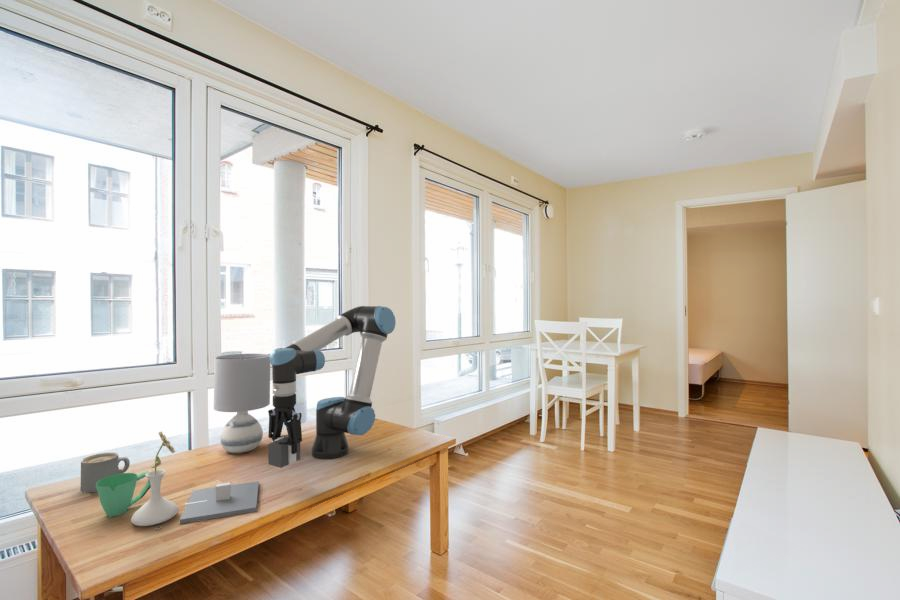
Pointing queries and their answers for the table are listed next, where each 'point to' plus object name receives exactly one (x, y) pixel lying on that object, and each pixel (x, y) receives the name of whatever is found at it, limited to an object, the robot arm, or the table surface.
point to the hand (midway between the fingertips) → (285, 460)
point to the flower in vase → (155, 496)
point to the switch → (221, 501)
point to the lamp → (241, 397)
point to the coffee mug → (100, 469)
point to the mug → (119, 492)
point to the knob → (280, 452)
